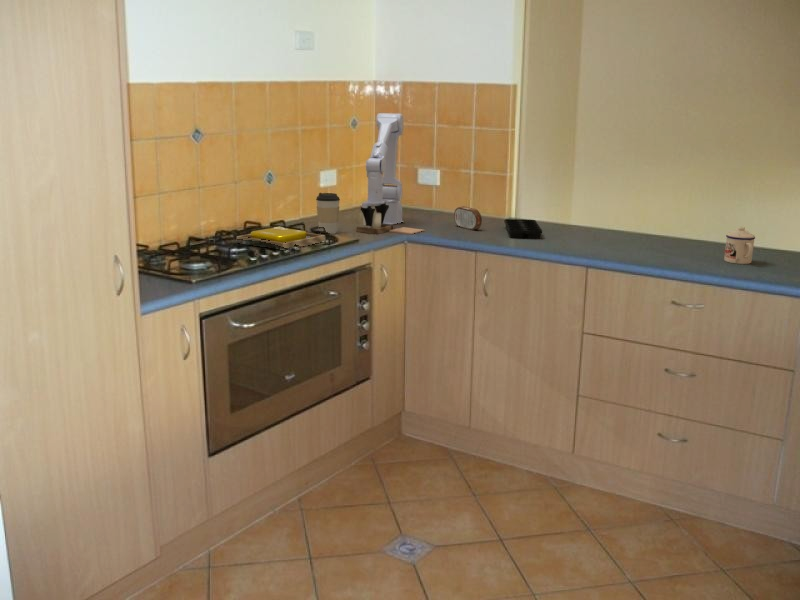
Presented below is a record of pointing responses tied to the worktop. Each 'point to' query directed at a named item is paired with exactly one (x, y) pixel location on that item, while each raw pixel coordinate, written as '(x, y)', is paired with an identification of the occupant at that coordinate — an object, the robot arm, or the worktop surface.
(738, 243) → the teacup with lid
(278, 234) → the element tile
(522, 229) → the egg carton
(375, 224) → the jug
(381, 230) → the holder
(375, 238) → the worktop surface
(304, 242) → the corral
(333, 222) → the coffee cup
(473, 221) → the brown speaker
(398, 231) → the plate
